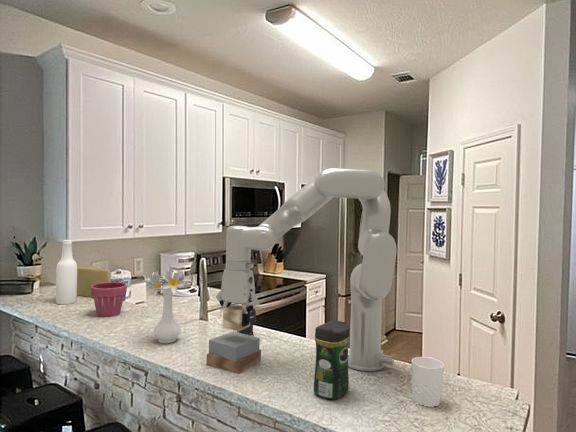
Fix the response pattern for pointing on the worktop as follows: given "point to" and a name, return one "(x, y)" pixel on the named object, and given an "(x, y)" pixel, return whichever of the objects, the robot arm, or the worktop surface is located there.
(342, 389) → the coffee jar
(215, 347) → the tower top
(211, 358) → the tower base
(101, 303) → the plant pot
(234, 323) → the birch cube
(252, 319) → the battery
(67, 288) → the alcohol
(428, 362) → the white cup
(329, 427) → the worktop surface
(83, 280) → the cheese
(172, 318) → the flower vase
